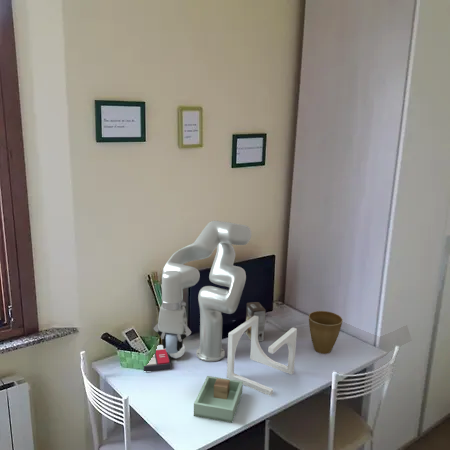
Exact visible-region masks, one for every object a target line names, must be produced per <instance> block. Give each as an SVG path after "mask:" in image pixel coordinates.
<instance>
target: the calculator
mask: <svg viewBox="0 0 450 450" xmlns="http://www.w3.org/2000/svg"><path fill="white" fill-rule="evenodd" d="M171 364H172V363H171V360H170V355H169V354H168V353H167V352H166V348H165V349H163V345H162V344H158V346H157V349H156V353H155V354H154V355H153V357H152V358H151V360H150V361H149V363H148V364H147V365H146V366H144V369H143V372H144V371H151V372H156V371H157V372H158V371H168V370H171V367H172V365H171Z"/></svg>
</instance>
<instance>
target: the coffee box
mask: <svg viewBox="0 0 450 450" xmlns="http://www.w3.org/2000/svg"><path fill="white" fill-rule="evenodd" d="M266 311H267V310H266V309H265V307H264V306H263V305H262V304H261V303H260V302H259V301H254V302H253V301H251V302H247V303H246V309H245V312H246V313H245V322H246V321H247V320H249V319H250V318H252V317H253V316H254V315H255V316H258V317H259V319H258V341H259V342H263V341H264V340H265V339H264V338H265V326H266V325H265V324H266ZM251 331H252V326H251V327H249V328H248V329H247V330H246V331H245V332H244V333H245V335H246V336H247V338H248V340H250V342H251Z"/></svg>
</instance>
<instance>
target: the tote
mask: <svg viewBox="0 0 450 450" xmlns="http://www.w3.org/2000/svg"><path fill="white" fill-rule="evenodd" d="M217 378H219V379H226V380H230V379H228V378H223V377H216V376H210V375H207V376H206V378H205V380H204V382H203V384H202V386H201V388H200V390H199V392H198V394H197V396H196V399H195V400H194V403H193V416H194V417H197V418H202V419H208V420H214V421H219V422H224V423H231V424H232V423H233V422H234V419H235V416H236V413H237V410H238V407H239V404H240V401H241V398H242V395H243V386H244V385H243V381H237V380H230V391H229V395H228V397H227V399H220V398H214V384H215V382H216V379H217Z"/></svg>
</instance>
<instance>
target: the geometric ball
mask: <svg viewBox="0 0 450 450" xmlns="http://www.w3.org/2000/svg"><path fill="white" fill-rule="evenodd" d="M185 350H186V347H185V343H183V347H182V348H181V349H180V351H178V352H177V353H173V354H171V353H168V355H169V357H171V358H173V359H179V358H181V357H182V356H183V355H184V354H185V352H186V351H185Z"/></svg>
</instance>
